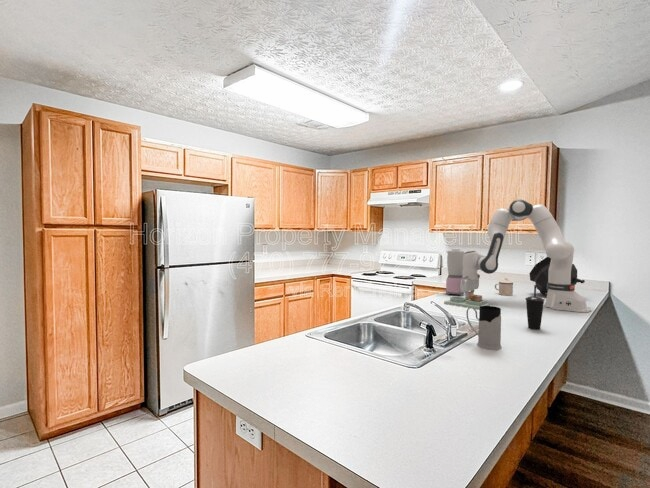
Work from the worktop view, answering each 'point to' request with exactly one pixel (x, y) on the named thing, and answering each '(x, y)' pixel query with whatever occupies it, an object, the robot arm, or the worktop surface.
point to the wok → (541, 275)
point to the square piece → (476, 298)
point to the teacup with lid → (505, 287)
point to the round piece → (469, 295)
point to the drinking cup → (534, 310)
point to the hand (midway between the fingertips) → (469, 297)
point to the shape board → (466, 302)
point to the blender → (454, 271)
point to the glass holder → (488, 327)
